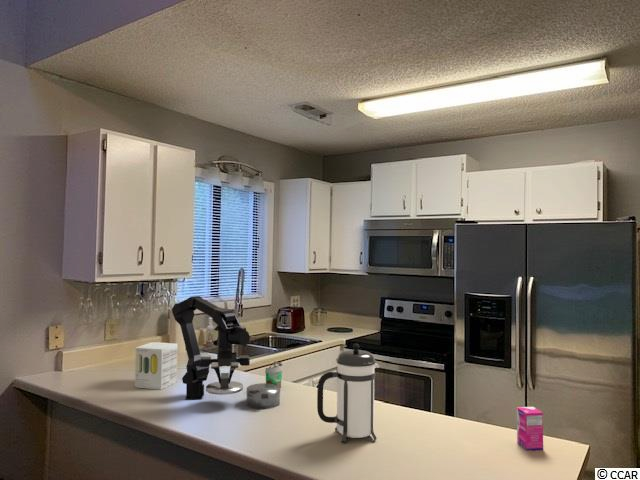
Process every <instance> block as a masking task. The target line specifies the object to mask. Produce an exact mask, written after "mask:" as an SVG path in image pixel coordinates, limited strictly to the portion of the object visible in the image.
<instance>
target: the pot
mask: <svg viewBox="0 0 640 480" xmlns="http://www.w3.org/2000/svg"><path fill="white" fill-rule="evenodd" d="M245 399H246V401H245V402H246V406H247V407H248V408H251V409H255V410H257V409H258V410H267V409H274V408H276V407H278V406H279V405H280V403H281V402H280V401H281V388H280V387H279V386H278V385H275V384H267V383H266V382H263V383H255V384H254V383H253V384H250V385H248V386H247V387H246V398H245Z"/></svg>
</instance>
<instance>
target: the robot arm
mask: <svg viewBox="0 0 640 480" xmlns="http://www.w3.org/2000/svg"><path fill="white" fill-rule="evenodd" d="M196 310H198V311H200V312H202V313H203V314H205V315H206V316H209V317H210V318H211V319H212V322H214V324H216V326H215V327H214V328H213V330H214V331H216V332H217V353H216V354H217V355H216V358H212V356H202V354H201V351H200V347H199V344H198V339H197V335H196V332H195V327H194V323H193V321H194V317H195V311H196ZM171 312H172V316H173V318H174V320H175V322H176V323H177V324H178V325H179V326H180V331H181V333H182V337H183V341H184V342H183V343H184V346H185V350H186V354H187V358H188V359H187V360H188V361H187V364H186V372H185V373H184V375H183V376H182V378H181V380H182V384H184V385H185V384H186V386H185V387H186V391H185V393H186V394H185V400H202V399H203V398H204V397H205V396H204V395H205V384H204V382H205V381H207V379H208V375H209V373H210V369H212V370H214V372H215V374H216V377H217V381H218V382H219V383H220V384H221V368H220V367H230V368H229V372H228V373H229V384H230V381H232V378H233V375H234V372H235V370H236V369H238V368H239V365H240V366H242V367H243V366H244V367H245V366H250V360H251V359H250V356H249V355H239V357H238V356H237V352H236V351H235V352H233V350H234V349H233V348H234V347H233V346H234V345H235V346H240V347H241V346H242V347H246V346H247V345H248V344H249V343H250V340H251V336H250V333H249V331H247V327H242V325H241V324H240V321H239V319H238V317H237V315H236V312H235V311H234V310H233V309H229V308H223V307H219V306H218V305H215V304H213V303H212V302H210V301H209V300H207V299H204V298H202V296H200V295H195V296H194V295H193V296H190V297H188V298H187V299H184V300H182V301H180V302H177V303H174V304H173V306H172V309H171ZM210 366H211V367H210Z"/></svg>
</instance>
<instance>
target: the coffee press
mask: <svg viewBox="0 0 640 480" xmlns="http://www.w3.org/2000/svg"><path fill="white" fill-rule="evenodd" d="M335 361H336V364H337V367H336V371H334V372H333V371H328V372H325V373H323V375H321V376H320V378H319V380H318V383H317V391H316V392H317V393H316V397H317V398H316V399H317V400H316V402H317V403H316V405H317V406H316V407H317V415H318V417H319V419H320V420H321V421H323V422H325V423H330V424H331V423H332V424H333V423H335V424H336V427H335V428H334V430H335V432H336V433H339V434H340V435H342V437H341V443H342V444H348V442H349V439H351V438H352V439H354V438H355V439H360V438H365V437H366V438H368V440H369V441H370V442H372V443H374V442H376V441H377V436H376V435H375V432H374V429H375V425H374V424H375V378H376V371H375V369H379V368H380V366H379V364H378V363H377V360H376V359H375V356H374V355H373V354H372V353H371V352H369V351H367V350H362V349H360V345H359V343H353V345H352V349H348V350H347V349H346V350H344V351H341V352H340V353H339V354H338V356H337V358H336V359H335ZM333 378H337V379H336V380H337V381H336V382H337V383H336V386H337V387H336V389H337V390H336V391H337V392H336V416H327V415H325V413H324V384H325V383H326V381H327V380H328V379H333ZM371 435H372V436H371Z"/></svg>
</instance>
